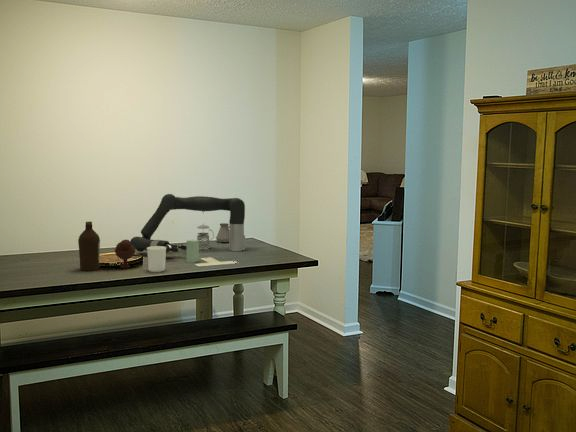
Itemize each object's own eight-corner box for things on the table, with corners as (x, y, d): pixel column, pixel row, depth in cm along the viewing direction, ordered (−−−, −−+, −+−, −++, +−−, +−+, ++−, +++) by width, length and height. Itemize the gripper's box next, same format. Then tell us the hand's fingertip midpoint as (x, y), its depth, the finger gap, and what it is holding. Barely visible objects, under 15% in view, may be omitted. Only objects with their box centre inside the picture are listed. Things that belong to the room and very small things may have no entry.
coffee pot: (213, 241, 393) (213, 220, 391) (228, 240, 399) (228, 219, 397) (226, 246, 374) (226, 223, 373) (241, 245, 380) (242, 223, 379)
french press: (195, 246, 369) (195, 209, 367) (213, 246, 371) (213, 209, 368) (195, 249, 360) (195, 210, 357) (213, 249, 361) (213, 210, 358)
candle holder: (168, 268, 300) (168, 246, 299) (162, 272, 290) (162, 249, 289) (150, 268, 301) (150, 245, 299) (144, 271, 291) (144, 248, 290)
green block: (191, 260, 325) (191, 239, 323) (199, 261, 322) (199, 240, 321) (186, 261, 320) (186, 240, 319) (193, 262, 318) (193, 241, 317)
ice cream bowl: (139, 265, 306) (139, 238, 304) (127, 269, 296) (127, 241, 294) (123, 264, 310) (122, 237, 308) (110, 268, 299) (110, 240, 297)
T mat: (185, 259, 326) (185, 259, 326) (224, 256, 337) (224, 256, 337) (198, 266, 307) (198, 266, 307) (239, 263, 318) (239, 263, 318)
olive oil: (81, 272, 288) (80, 223, 285) (77, 268, 297) (75, 221, 294) (102, 270, 293) (101, 222, 291) (97, 266, 302) (96, 220, 299)
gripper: (151, 241, 325) (174, 244, 317) (167, 238, 337) (189, 240, 330) (152, 254, 325) (174, 257, 318) (167, 251, 338) (189, 253, 331)
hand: (182, 249), depth 324 cm, fingers open, 8 cm apart
